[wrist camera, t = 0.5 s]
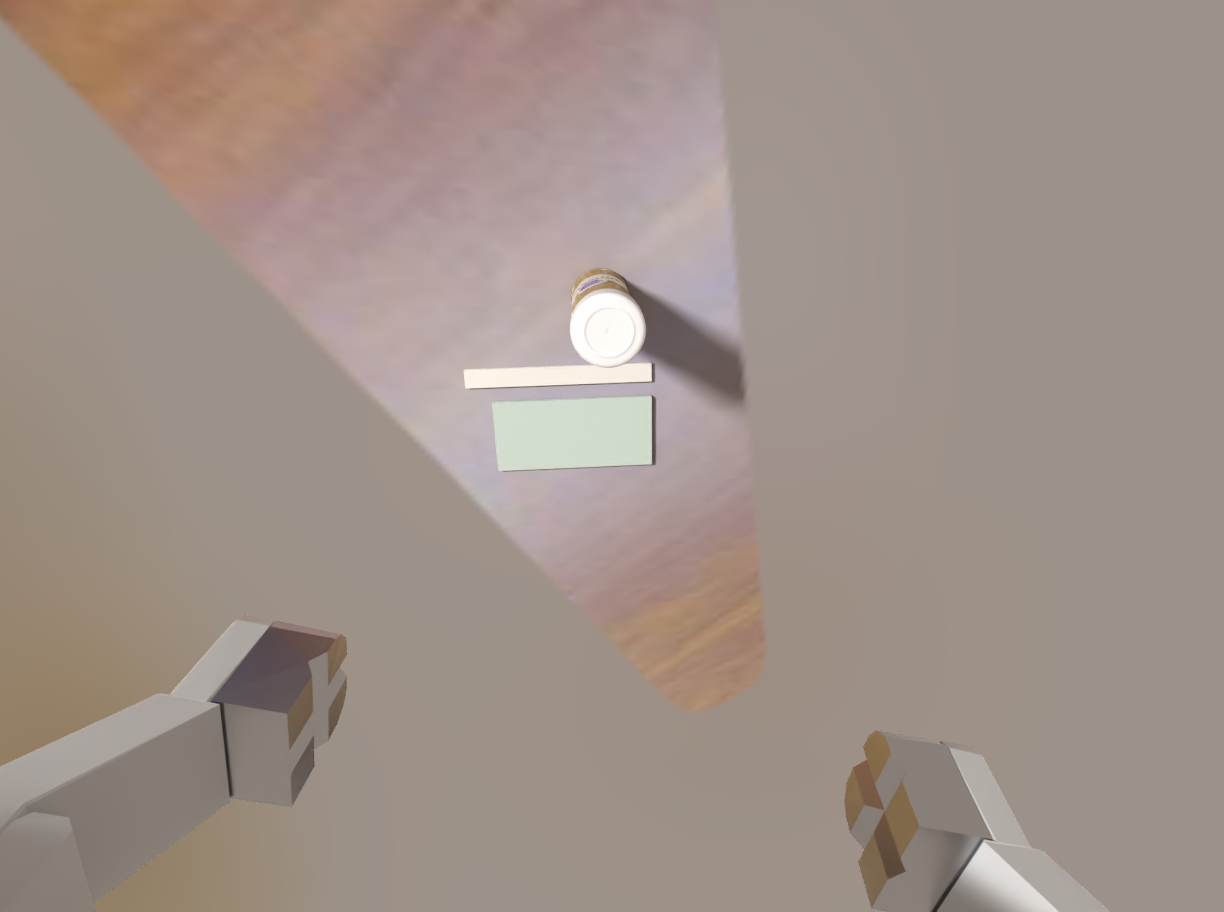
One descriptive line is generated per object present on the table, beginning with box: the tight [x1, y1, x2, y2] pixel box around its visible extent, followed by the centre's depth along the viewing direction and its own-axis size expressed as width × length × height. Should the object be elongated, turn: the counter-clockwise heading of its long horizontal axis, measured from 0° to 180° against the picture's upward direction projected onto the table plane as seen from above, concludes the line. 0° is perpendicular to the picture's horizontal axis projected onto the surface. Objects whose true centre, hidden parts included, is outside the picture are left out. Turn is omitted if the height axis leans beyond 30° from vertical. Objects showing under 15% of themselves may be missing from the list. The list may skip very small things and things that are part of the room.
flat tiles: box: [464, 362, 652, 471], centre depth 55 cm, size 9×15×1 cm, turn 91°
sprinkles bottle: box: [570, 268, 646, 368], centre depth 46 cm, size 5×5×13 cm
